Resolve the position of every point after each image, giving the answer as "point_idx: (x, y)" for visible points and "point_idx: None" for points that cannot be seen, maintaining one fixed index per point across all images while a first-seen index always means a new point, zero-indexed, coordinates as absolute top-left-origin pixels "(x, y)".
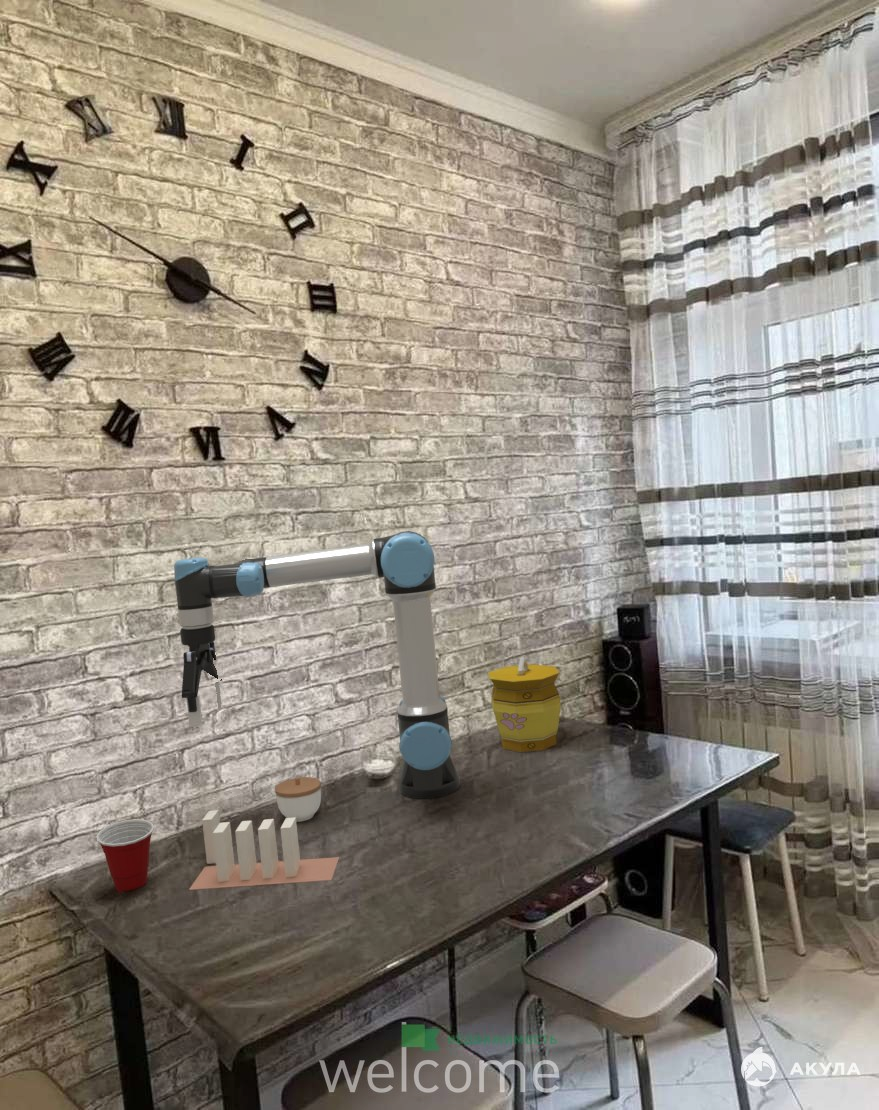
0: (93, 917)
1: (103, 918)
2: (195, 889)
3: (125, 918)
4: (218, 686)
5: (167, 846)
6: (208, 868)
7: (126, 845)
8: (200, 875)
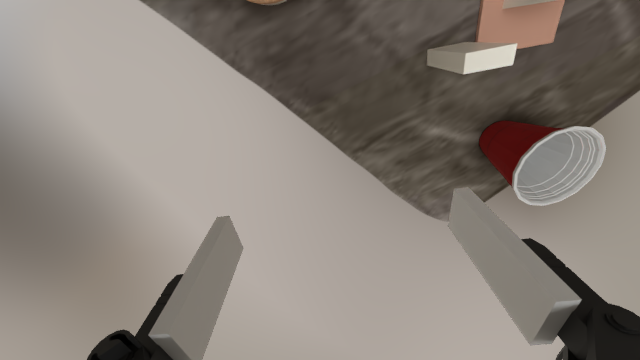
0: None
1: None
2: (555, 31)
3: (588, 99)
4: (182, 306)
5: (381, 153)
6: None
7: (595, 145)
8: None
